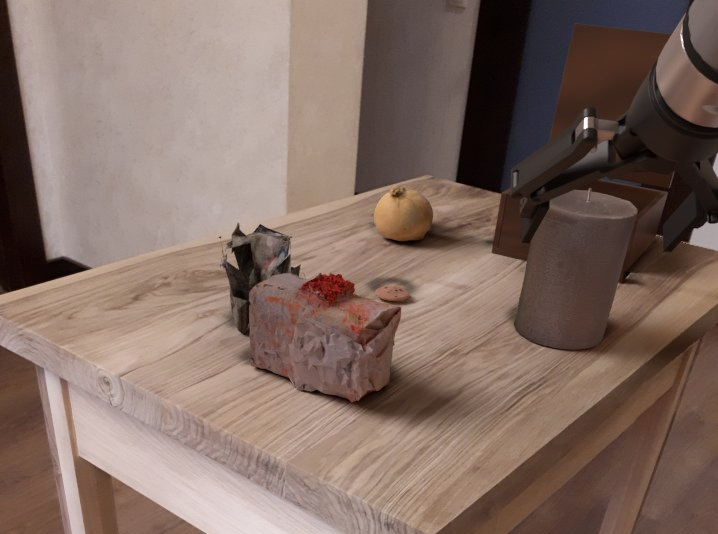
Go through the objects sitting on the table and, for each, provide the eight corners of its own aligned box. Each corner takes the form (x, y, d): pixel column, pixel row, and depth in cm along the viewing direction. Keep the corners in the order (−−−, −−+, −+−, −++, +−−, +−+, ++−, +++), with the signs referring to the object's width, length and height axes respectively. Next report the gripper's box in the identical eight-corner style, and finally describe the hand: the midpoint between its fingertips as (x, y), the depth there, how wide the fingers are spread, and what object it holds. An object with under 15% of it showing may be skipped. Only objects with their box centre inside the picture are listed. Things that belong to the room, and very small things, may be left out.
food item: (405, 384, 74) (416, 282, 69) (361, 418, 69) (370, 311, 63) (285, 344, 80) (287, 247, 74) (236, 373, 74) (234, 270, 68)
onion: (382, 225, 113) (387, 173, 109) (436, 234, 111) (443, 182, 107) (364, 241, 107) (369, 187, 103) (421, 251, 105) (428, 196, 101)
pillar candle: (496, 320, 88) (521, 179, 79) (564, 309, 92) (596, 173, 83) (552, 357, 81) (587, 206, 72) (623, 343, 85) (664, 198, 76)
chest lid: (713, 38, 97) (714, 39, 98) (574, 23, 104) (576, 23, 105) (668, 188, 107) (669, 188, 107) (543, 165, 113) (545, 165, 114)
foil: (177, 299, 79) (232, 185, 84) (214, 359, 89) (261, 254, 94) (283, 317, 76) (334, 197, 81) (309, 378, 85) (353, 267, 90)
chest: (621, 283, 100) (638, 220, 95) (491, 252, 107) (501, 192, 102) (651, 249, 112) (668, 191, 107) (532, 223, 118) (543, 168, 114)
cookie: (407, 305, 90) (408, 296, 89) (371, 300, 90) (372, 292, 90) (411, 292, 93) (412, 284, 92) (377, 288, 93) (378, 280, 93)
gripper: (525, 121, 53) (465, 263, 74) (887, 145, 54) (726, 279, 75) (526, 22, 55) (466, 189, 76) (880, 47, 55) (724, 205, 76)
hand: (596, 234), depth 75 cm, fingers open, 13 cm apart
